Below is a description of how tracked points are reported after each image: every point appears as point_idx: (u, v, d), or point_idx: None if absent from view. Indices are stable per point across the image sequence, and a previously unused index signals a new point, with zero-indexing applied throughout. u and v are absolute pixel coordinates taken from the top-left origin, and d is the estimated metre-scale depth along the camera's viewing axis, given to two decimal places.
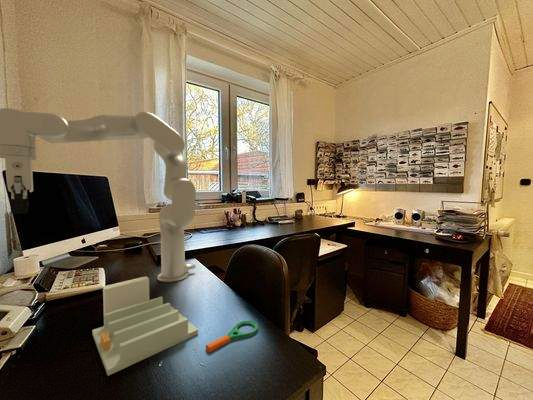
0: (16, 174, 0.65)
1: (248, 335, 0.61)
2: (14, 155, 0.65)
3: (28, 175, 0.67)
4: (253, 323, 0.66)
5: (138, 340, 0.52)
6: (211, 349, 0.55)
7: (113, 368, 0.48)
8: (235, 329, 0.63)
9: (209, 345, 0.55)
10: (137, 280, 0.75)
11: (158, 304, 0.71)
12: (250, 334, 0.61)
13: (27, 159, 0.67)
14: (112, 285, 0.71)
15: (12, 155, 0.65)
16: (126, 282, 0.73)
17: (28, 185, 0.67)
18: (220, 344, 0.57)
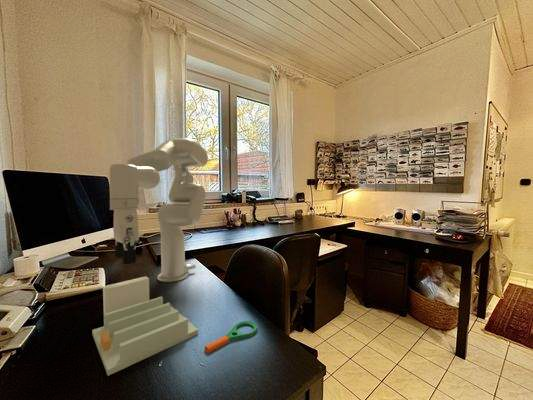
0: (128, 226, 0.68)
1: (247, 336, 0.60)
2: (125, 208, 0.69)
3: (136, 226, 0.70)
4: (252, 323, 0.65)
5: (138, 340, 0.52)
6: (210, 350, 0.55)
7: (113, 368, 0.48)
8: (234, 329, 0.62)
9: (208, 346, 0.55)
10: (137, 280, 0.75)
11: (158, 304, 0.71)
12: (249, 335, 0.61)
13: (135, 211, 0.71)
14: (112, 285, 0.71)
15: (124, 208, 0.69)
16: (126, 282, 0.73)
17: (136, 236, 0.70)
18: (219, 345, 0.56)
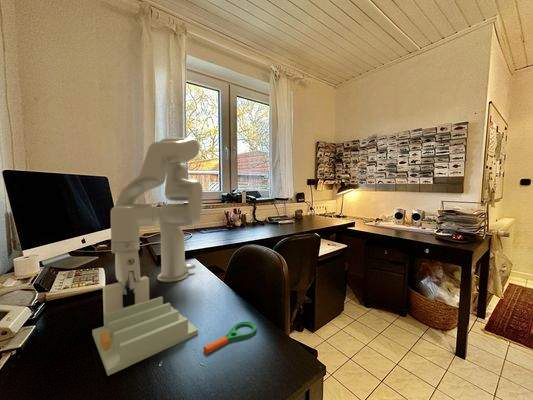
0: (129, 269, 0.69)
1: (246, 336, 0.60)
2: (127, 251, 0.70)
3: (138, 268, 0.71)
4: (251, 324, 0.65)
5: (138, 340, 0.52)
6: (209, 351, 0.54)
7: (113, 368, 0.48)
8: (233, 330, 0.62)
9: (207, 347, 0.55)
10: None
11: (158, 304, 0.71)
12: (248, 335, 0.60)
13: (137, 253, 0.71)
14: (112, 285, 0.71)
15: (125, 251, 0.70)
16: (126, 282, 0.73)
17: (138, 278, 0.71)
18: (218, 345, 0.56)
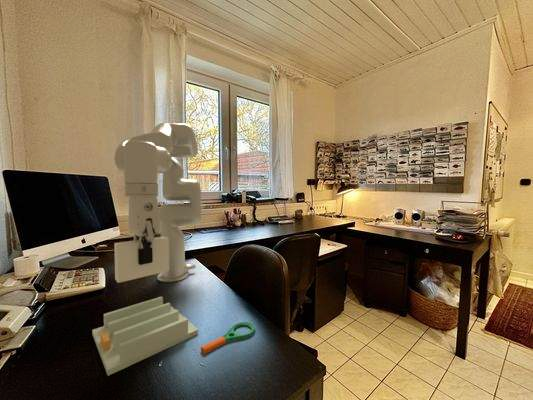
0: (147, 217, 0.57)
1: (244, 337, 0.60)
2: (144, 194, 0.57)
3: (157, 216, 0.58)
4: (250, 324, 0.65)
5: (138, 340, 0.52)
6: (206, 351, 0.54)
7: (113, 368, 0.48)
8: (231, 331, 0.62)
9: (204, 347, 0.55)
10: (155, 239, 0.62)
11: (158, 304, 0.71)
12: (246, 336, 0.60)
13: (155, 198, 0.59)
14: (125, 242, 0.58)
15: (142, 195, 0.57)
16: None
17: (157, 228, 0.58)
18: (215, 346, 0.56)
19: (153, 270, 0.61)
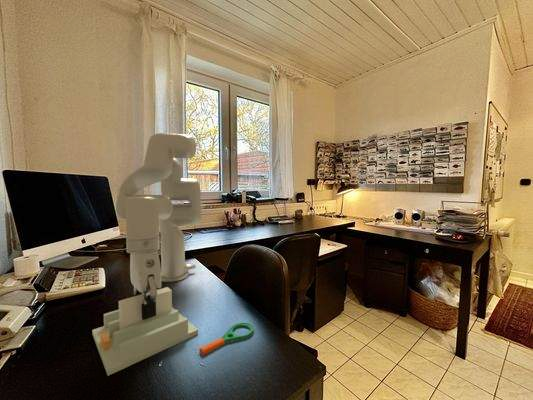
0: (149, 273, 0.57)
1: (243, 338, 0.60)
2: (145, 251, 0.58)
3: (159, 271, 0.59)
4: (249, 325, 0.65)
5: (138, 340, 0.52)
6: (205, 352, 0.54)
7: (113, 368, 0.48)
8: (230, 331, 0.62)
9: (203, 348, 0.54)
10: (158, 292, 0.63)
11: None
12: (245, 336, 0.60)
13: (157, 253, 0.59)
14: (129, 299, 0.59)
15: (144, 251, 0.57)
16: (146, 295, 0.61)
17: (159, 283, 0.59)
18: (214, 347, 0.56)
19: None
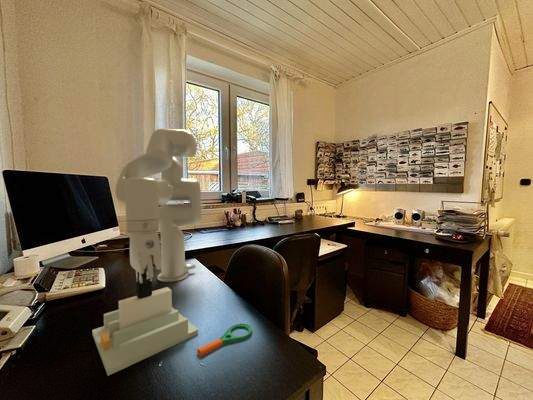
0: (149, 254, 0.57)
1: (241, 339, 0.59)
2: (145, 231, 0.57)
3: (158, 253, 0.58)
4: (247, 326, 0.64)
5: (138, 340, 0.52)
6: (202, 353, 0.53)
7: (113, 368, 0.48)
8: (228, 332, 0.61)
9: (201, 349, 0.54)
10: (158, 292, 0.63)
11: None
12: (243, 337, 0.59)
13: (157, 234, 0.59)
14: (129, 299, 0.59)
15: (143, 232, 0.57)
16: None
17: (158, 264, 0.58)
18: (212, 348, 0.55)
19: None
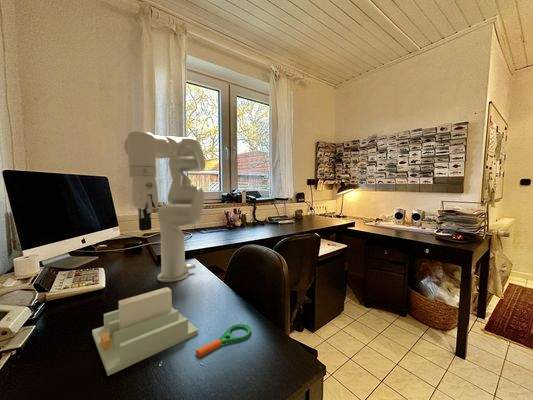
0: (148, 193, 0.71)
1: (240, 339, 0.59)
2: (145, 175, 0.71)
3: (156, 193, 0.73)
4: (246, 326, 0.64)
5: (138, 340, 0.52)
6: (201, 354, 0.53)
7: (113, 368, 0.48)
8: (227, 333, 0.61)
9: (199, 350, 0.54)
10: (158, 292, 0.63)
11: None
12: (242, 338, 0.59)
13: (154, 178, 0.73)
14: (129, 299, 0.59)
15: (143, 175, 0.71)
16: (145, 295, 0.61)
17: (156, 202, 0.73)
18: (211, 349, 0.55)
19: None
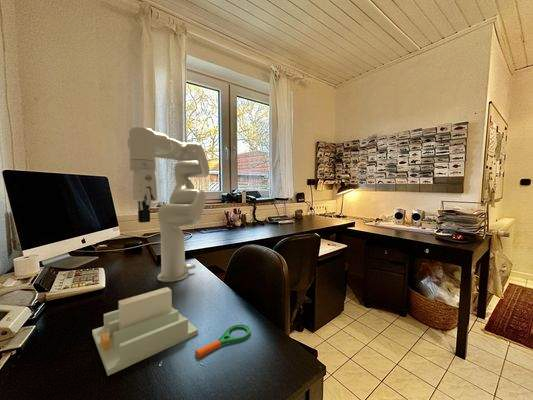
0: (147, 185, 0.74)
1: (240, 340, 0.59)
2: (145, 168, 0.74)
3: (155, 186, 0.76)
4: (246, 327, 0.64)
5: (138, 340, 0.52)
6: (201, 355, 0.53)
7: (113, 368, 0.48)
8: (227, 333, 0.61)
9: (199, 350, 0.53)
10: (158, 292, 0.63)
11: None
12: (242, 338, 0.59)
13: (154, 172, 0.76)
14: (129, 299, 0.59)
15: (143, 168, 0.74)
16: (145, 295, 0.61)
17: (155, 195, 0.76)
18: (210, 349, 0.55)
19: None
